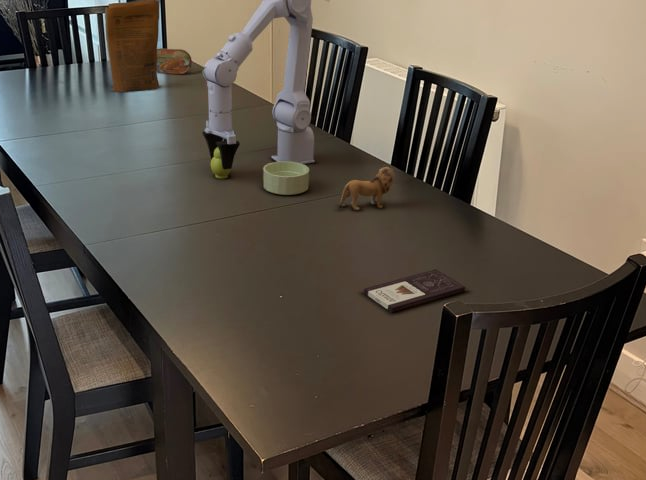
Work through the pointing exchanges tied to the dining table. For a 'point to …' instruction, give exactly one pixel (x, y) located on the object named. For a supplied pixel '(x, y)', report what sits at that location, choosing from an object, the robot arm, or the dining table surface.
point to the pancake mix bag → (133, 44)
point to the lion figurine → (369, 188)
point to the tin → (173, 61)
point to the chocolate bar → (413, 290)
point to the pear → (218, 166)
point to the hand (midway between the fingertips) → (221, 164)
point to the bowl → (286, 177)
